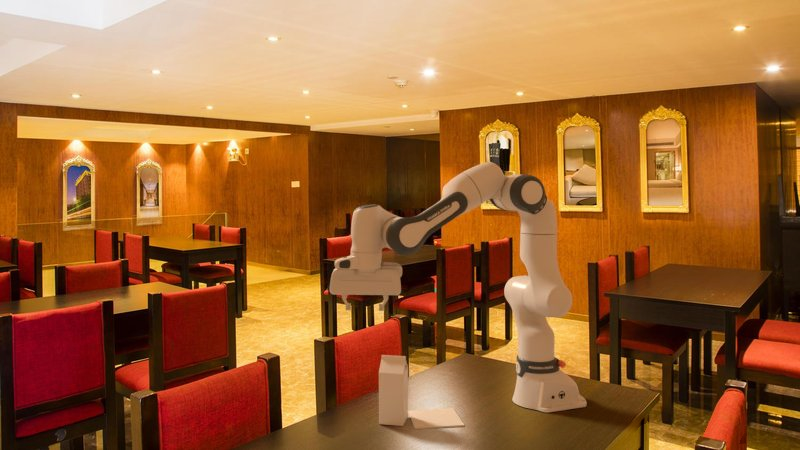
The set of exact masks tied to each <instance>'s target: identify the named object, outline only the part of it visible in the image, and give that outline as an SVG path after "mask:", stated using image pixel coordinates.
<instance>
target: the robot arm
mask: <svg viewBox="0 0 800 450" xmlns="http://www.w3.org/2000/svg"><path fill="white" fill-rule="evenodd" d="M487 201H489V202H490V203H491V204H492V205H493V206H494V207H495V208H497V209H498V210H499V209H500V210H501V211H510V212H517V213H518V216H519V218H520V232H519V233H520V234H519V235H520V240H519V258H520V261H521V262H522V263H523V264H524V266H525V268H526V272H527V275H525V274H524V275H516V276H513V277H511V278H509V279H508V280H507V282H506V283H505V286H504V288H503V290H504V291H503V292H504V293H503V294H504V298H505V300H506V301H507V302H508V304H509V306H510V308H511V310H512V311H511V312H512V314H513V318H514V321H515V324H516V330H517V356H516V361H515V362H516V363H515V371H516V382H515V388H514V393H513V396H512V402H513V403H514V404H516V405H517V406H520V407H522V408H527V409H530V410H536V411H539V412H542V413H553V412H560V411H561V412H562V411H567V410H573V409H580V408H586V407H587V404H588V403H587V400H586V398H585V397H584V396H582V394H580V391H579V387H578V384H577V383H576V382H575V380H574V379H573V378H572V377H570V376H569V375H568V374H567V373H565V372H564V371H563V370H562V369H563V368H565V367H566V366H567V363H566V362H565V361H564V360H562V359H559V358H558V357H556V356H555V339H556V338H555V332H554V330H553V328H552V327H551V326H550V324H549V322H548V320H547V318H561V317H563V316H566V315H567V314H568V313H569V312H570V310H571V307H572V306H573V294H572V292H571V290H570V289H569V288H568V287H567V285H566V283H565V282H564V280H563V277H562V275H561V271H560V268H559V264H558V249H557V247H558V239H557V238H558V220H557V219H558V218H557V212H556V207H555V204H554V202H553V201H552V200H550V199H549V198H548V196H547V194H546V189H545V186H544V183H543V182H542V181H541V179H539V178H538V177H537V176H534V175H531V174H526V173H525V174H521V173H520V174H517V173H516V174H515V173H514V174H510V175H506V174H504V172H503V170H502V169H501V167H500V166H499V165H497V164H496V163H494V162H492V161H486V162H482V163H479V164H476V165H475V166H472V167H470V168H468V169H466V170H464V171H462V172H461V173H459V174H457V175H456V176H454V177H453V178H451V179H450V180H449V181H448V182H447V183H446V184H445V185H444V186H443V187H442V192H441V199H440V200H438V201H437V202H435V204H433V205H432V206H430V207H428V208H427V209H426V210H423V211H422V212H421V213H419V214H417V215H415V216H410V217H401V216H398V215H396V214H394V213H392V212H390V211H388V210H386V209H384V208H383V206H381V205H380V204H375V203H373V204H365V205H360V206H358V207H357V208H355V209H354V211H353V214H352V218H351V227H350V237H351V247H350V255H348V256H343V257H341V258H337V259H336V260H334V267H335V268H334V269H333V271H332V273H331V276H330V282H329V292H330V294H331V295H334V296H335V295H338V296H339V295H341V299H342V302H344V304H345V311H351V310H352V303H349V301H347V298H348V296H356V295H357V296H359V295H360V296H382V297H383V300H382V303H378V311H379V312H382V311H383V312H385V305H386V304H387V302H388V300H389V296H399V295H400V294H402V293H401V292H402V284H401V278H402V276H403V267H402V265H401V264H399V263H398V262H396V261H394V262H388V261H387V262H386V261H382V259H383V258H382V255H383V249H385V248H386V249H390V250H392V251H394V252H395V253H396V254H398V255H401V256H402V255H403V256H409V255H413V254H415V253H417V252H418V251H419V250H420V249H421V248H422V247H423V245H424V244H425V243H426V242H427V239H428V238H429V237H430V236H431V235H432V234H434V233H436V231H439V230H440V229H441V228H443V227H444V226H445V225H447V224H448V223H450V222H452V221H453V220H455V219H456V218H458V217H460V216H461V215H464V214H467V213H468V212H471V211H473V210H474V209H476V208H478V207H479V206H481V205H482V204H484V203H485V202H487ZM560 368H561V369H560Z"/></svg>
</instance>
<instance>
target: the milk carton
mask: <svg viewBox="0 0 800 450" xmlns="http://www.w3.org/2000/svg"><path fill="white" fill-rule="evenodd" d="M380 358H381V359H380V364H379V369H378V424H379V425H387V426H399V427H400V426H401V427H404V426H405V423H406V421H407V419H408V418H409V414H408V411H409V365H408V363H407V356H405V355H389V354H387V355H386V354H381V357H380Z"/></svg>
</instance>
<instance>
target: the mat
mask: <svg viewBox="0 0 800 450" xmlns="http://www.w3.org/2000/svg"><path fill="white" fill-rule="evenodd" d="M408 417H409V418H410V420H411V424H412V425H413V428H414V429H415V430H427V429H428V430H429V429H437V428H438V429H441V428H443V429H444V428H457V427H458V428H459V427H465V424H464V422H463V421H462V419H461V418H460V416H459V415H458V413H457V411H456V410H455V409H454V407H446V408H432V409H431V408H430V409H414V410H413V409H411V410H409V409H408Z"/></svg>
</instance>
